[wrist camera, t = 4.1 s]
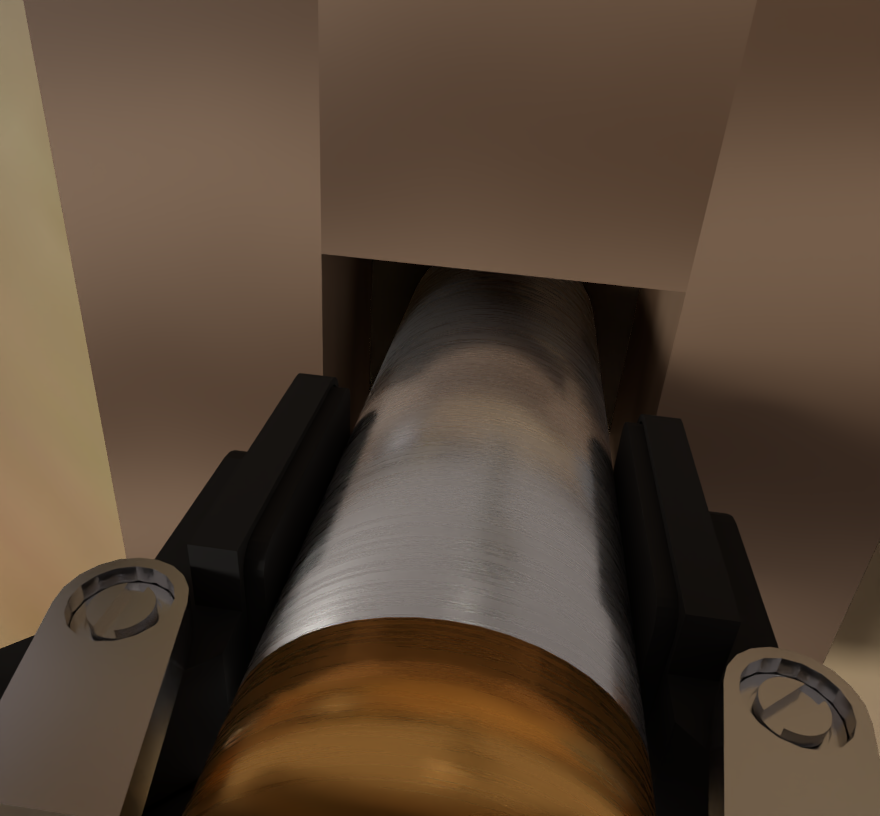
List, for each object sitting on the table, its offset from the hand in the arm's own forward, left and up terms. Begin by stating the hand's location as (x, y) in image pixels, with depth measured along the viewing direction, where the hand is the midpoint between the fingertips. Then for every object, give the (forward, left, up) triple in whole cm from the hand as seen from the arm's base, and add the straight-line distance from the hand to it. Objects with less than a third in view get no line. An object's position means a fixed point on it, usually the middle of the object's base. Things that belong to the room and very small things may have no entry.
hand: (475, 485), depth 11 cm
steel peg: (0, 0, -6) cm, 6 cm away
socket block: (0, 0, -6) cm, 6 cm away
